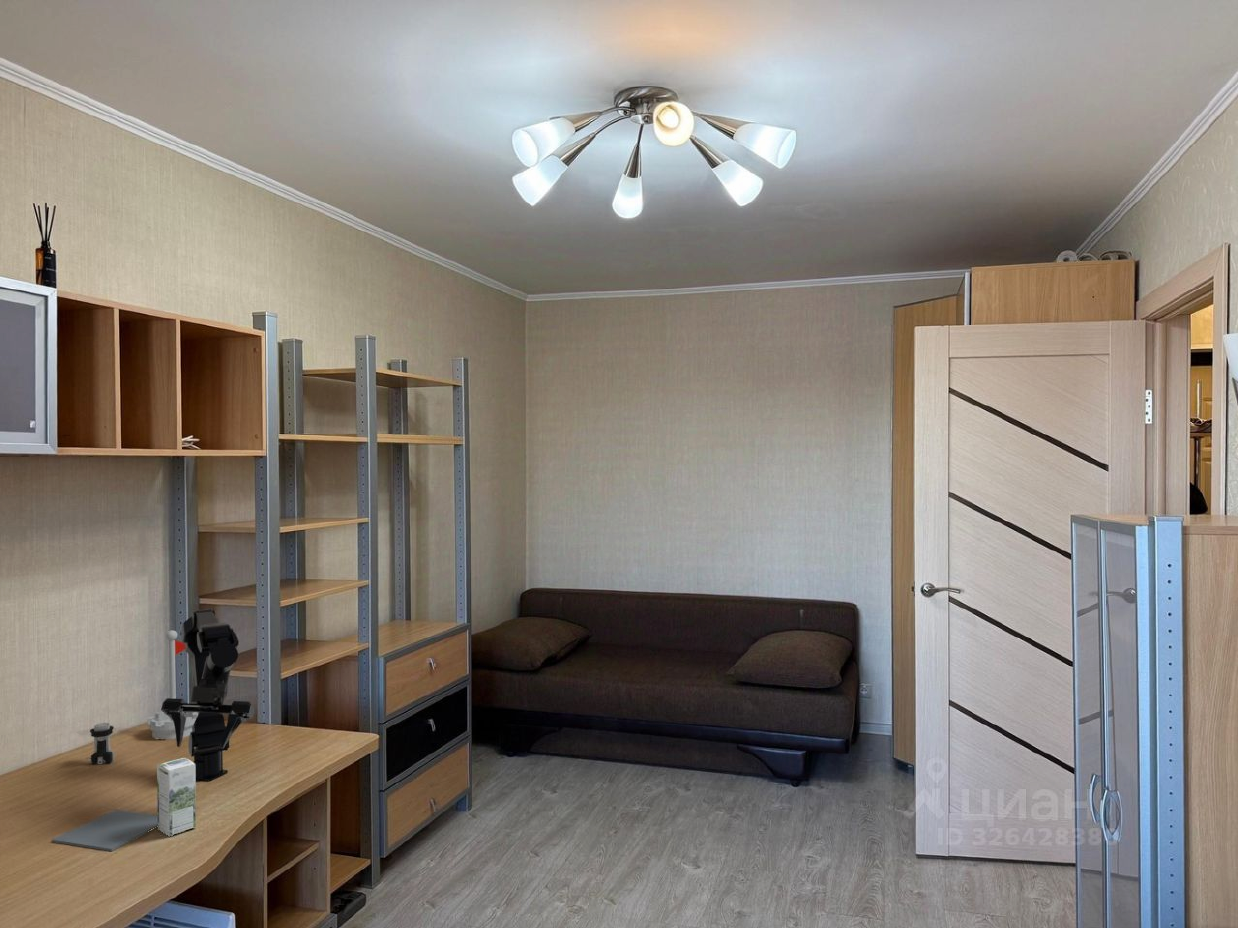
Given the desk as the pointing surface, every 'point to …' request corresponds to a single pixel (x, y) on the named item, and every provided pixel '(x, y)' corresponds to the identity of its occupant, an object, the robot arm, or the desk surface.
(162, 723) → the flag stand
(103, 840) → the slate mat
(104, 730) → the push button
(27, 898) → the desk surface
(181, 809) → the syrup box
